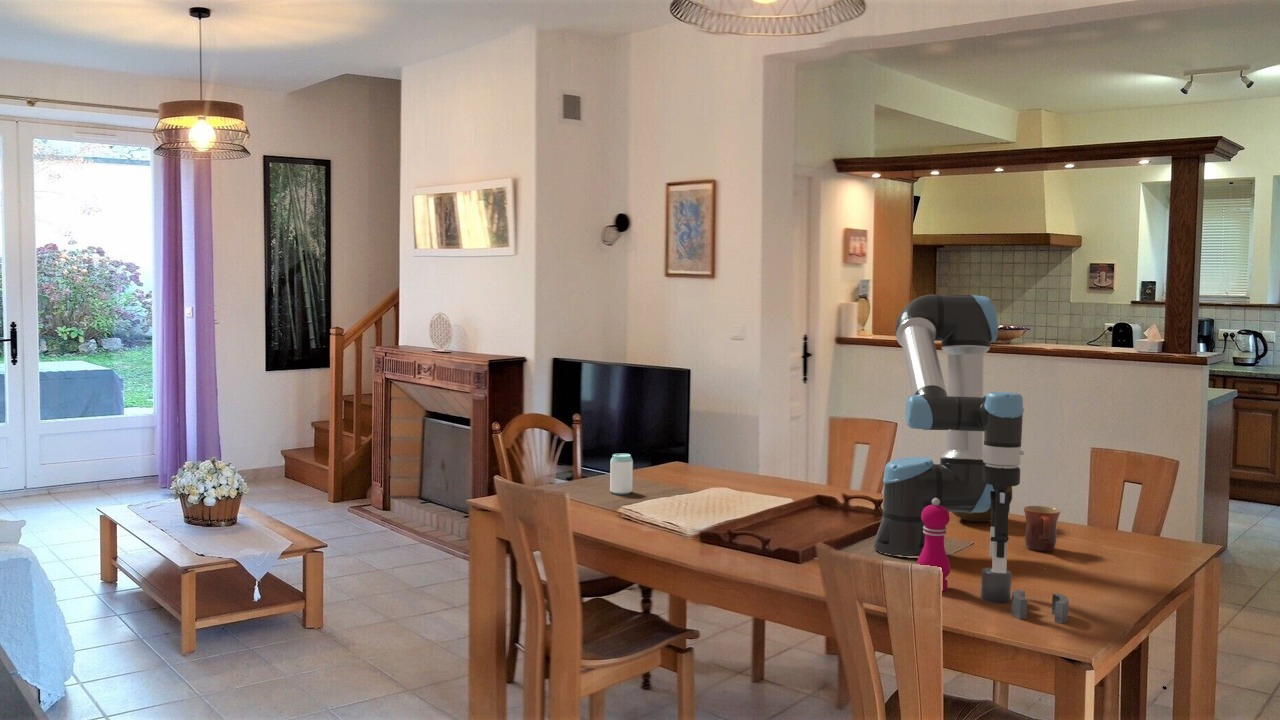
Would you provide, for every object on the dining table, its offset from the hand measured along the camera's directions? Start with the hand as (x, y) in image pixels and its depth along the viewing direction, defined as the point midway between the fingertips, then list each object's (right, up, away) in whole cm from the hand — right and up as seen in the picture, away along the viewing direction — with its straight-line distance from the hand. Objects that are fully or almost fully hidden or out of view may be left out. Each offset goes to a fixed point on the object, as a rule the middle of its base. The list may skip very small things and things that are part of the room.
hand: (997, 564), depth 218 cm
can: (-82, +2, +104) cm, 133 cm away
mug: (+26, -5, +42) cm, 50 cm away
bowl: (+19, -3, +73) cm, 76 cm away
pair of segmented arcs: (+5, -8, -10) cm, 14 cm away
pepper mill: (-11, -7, +9) cm, 16 cm away
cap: (0, -8, +1) cm, 8 cm away
